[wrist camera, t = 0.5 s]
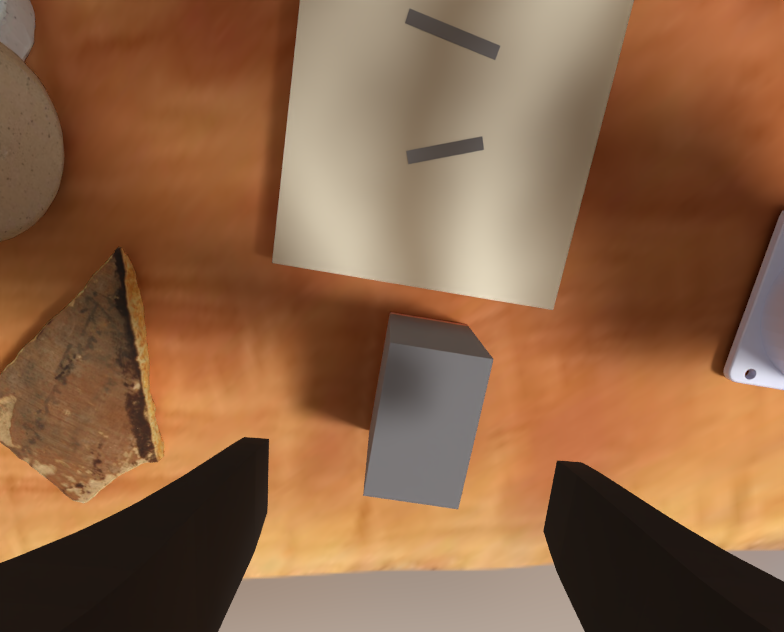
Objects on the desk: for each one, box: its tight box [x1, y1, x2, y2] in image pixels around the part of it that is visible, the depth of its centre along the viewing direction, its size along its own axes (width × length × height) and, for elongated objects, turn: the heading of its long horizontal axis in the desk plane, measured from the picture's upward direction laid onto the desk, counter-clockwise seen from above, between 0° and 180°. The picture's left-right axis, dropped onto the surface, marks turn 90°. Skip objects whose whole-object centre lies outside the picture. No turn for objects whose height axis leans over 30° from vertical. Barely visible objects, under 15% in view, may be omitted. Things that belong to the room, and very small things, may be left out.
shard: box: [0, 247, 164, 503], centre depth 19 cm, size 11×8×2 cm
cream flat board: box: [272, 0, 634, 310], centre depth 16 cm, size 12×17×1 cm
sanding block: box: [363, 312, 493, 509], centre depth 17 cm, size 4×6×5 cm, turn 170°
